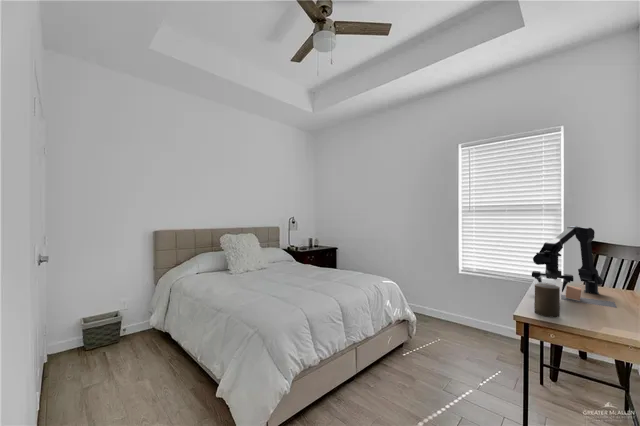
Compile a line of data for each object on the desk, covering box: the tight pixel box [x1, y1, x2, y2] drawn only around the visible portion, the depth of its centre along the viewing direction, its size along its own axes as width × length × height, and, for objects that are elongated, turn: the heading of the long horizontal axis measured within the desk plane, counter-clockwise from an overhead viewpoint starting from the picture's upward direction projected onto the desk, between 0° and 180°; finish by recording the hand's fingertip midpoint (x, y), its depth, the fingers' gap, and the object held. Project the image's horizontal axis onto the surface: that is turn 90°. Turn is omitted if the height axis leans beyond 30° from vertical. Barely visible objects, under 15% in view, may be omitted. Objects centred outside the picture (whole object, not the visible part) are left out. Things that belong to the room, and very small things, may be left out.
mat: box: [560, 294, 618, 309], centre depth 158 cm, size 12×22×1 cm, turn 50°
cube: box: [565, 284, 582, 301], centre depth 162 cm, size 6×6×6 cm
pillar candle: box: [533, 283, 561, 318], centre depth 140 cm, size 10×10×15 cm
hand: (552, 290), depth 168 cm, fingers open, 9 cm apart
